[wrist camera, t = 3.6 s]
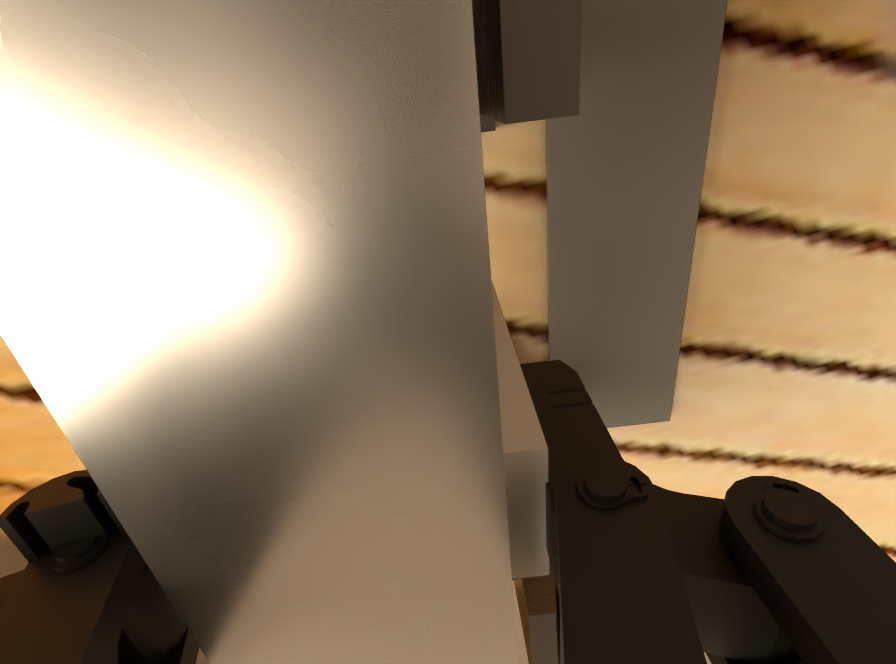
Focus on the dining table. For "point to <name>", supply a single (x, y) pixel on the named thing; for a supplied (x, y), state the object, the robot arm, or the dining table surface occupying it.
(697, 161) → the plank
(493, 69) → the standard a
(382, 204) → the rail
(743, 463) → the dining table surface
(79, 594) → the robot arm
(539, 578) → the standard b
